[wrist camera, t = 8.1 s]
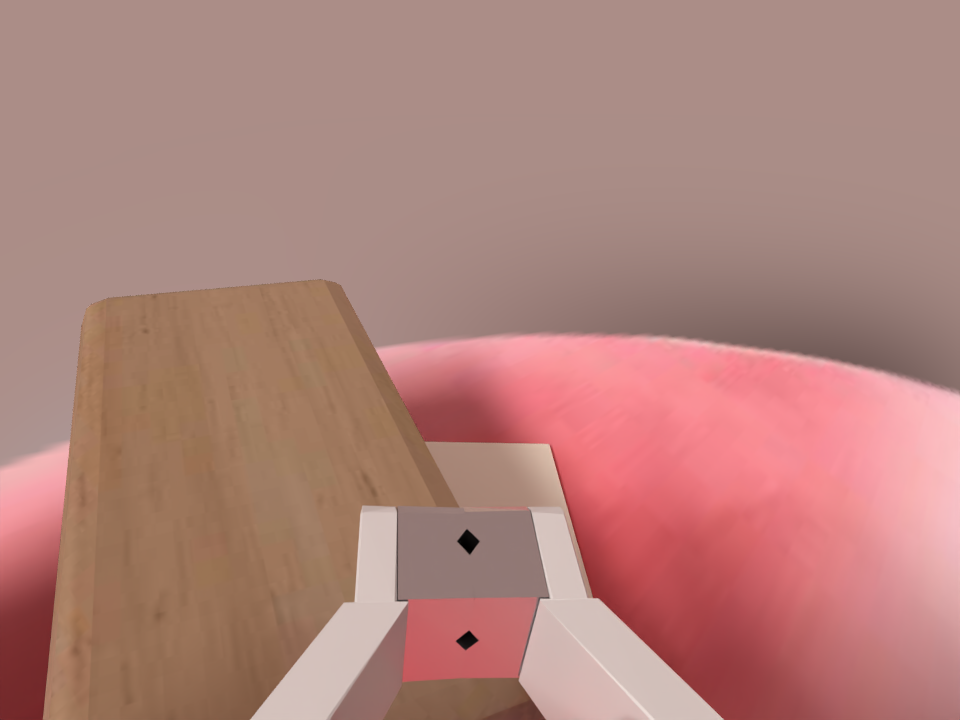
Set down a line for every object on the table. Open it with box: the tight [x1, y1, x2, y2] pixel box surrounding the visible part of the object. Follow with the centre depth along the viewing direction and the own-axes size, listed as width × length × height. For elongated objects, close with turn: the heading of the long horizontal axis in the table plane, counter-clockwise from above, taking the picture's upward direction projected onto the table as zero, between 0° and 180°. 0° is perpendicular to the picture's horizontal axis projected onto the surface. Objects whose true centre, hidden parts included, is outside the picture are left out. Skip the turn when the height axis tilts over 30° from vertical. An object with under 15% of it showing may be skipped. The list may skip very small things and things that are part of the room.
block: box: [43, 279, 546, 720], centre depth 22 cm, size 10×10×20 cm
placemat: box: [425, 442, 593, 598], centre depth 27 cm, size 16×19×1 cm
